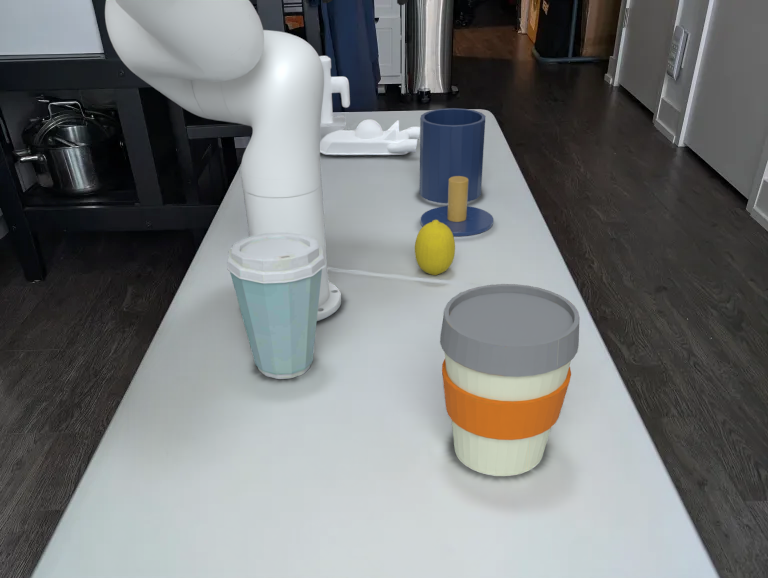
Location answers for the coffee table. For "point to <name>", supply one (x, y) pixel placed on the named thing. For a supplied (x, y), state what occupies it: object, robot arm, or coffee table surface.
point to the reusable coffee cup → (506, 373)
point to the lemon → (434, 248)
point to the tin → (451, 151)
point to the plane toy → (371, 140)
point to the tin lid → (459, 211)
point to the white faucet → (331, 86)
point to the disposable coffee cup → (278, 298)
